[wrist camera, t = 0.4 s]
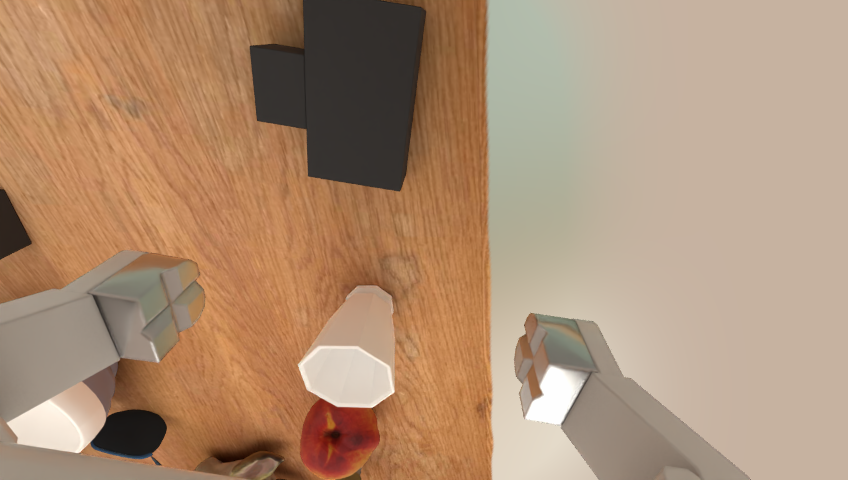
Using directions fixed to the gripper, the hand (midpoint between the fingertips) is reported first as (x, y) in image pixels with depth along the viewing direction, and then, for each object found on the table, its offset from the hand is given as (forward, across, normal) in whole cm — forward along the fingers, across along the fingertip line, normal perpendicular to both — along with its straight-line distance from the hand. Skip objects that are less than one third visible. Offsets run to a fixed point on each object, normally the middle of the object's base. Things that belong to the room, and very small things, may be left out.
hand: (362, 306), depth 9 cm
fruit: (+18, +4, +30) cm, 35 cm away
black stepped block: (+17, +5, -2) cm, 18 cm away
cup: (+18, +3, +17) cm, 25 cm away
